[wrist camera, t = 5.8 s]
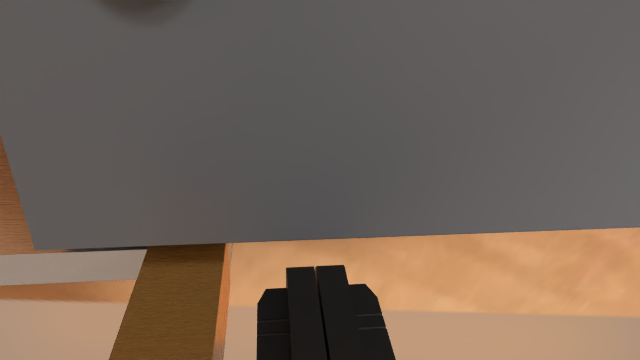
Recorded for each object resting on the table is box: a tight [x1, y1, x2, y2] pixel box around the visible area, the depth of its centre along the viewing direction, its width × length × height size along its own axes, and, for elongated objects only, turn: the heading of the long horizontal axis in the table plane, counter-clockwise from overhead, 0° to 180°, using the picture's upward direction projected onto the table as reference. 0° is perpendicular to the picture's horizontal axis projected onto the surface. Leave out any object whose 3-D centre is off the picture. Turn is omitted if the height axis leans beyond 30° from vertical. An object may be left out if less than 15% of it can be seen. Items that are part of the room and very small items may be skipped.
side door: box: [0, 137, 233, 360], centre depth 15 cm, size 12×2×12 cm, turn 89°
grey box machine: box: [0, 0, 640, 250], centre depth 15 cm, size 29×12×11 cm, turn 89°
